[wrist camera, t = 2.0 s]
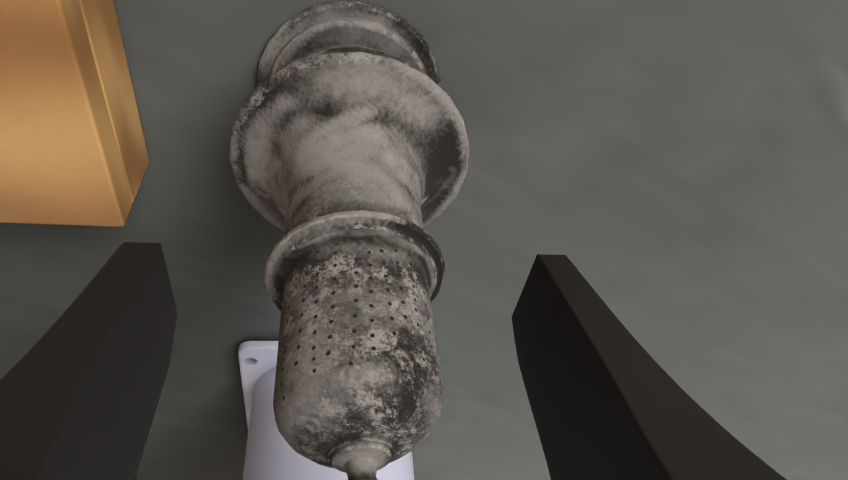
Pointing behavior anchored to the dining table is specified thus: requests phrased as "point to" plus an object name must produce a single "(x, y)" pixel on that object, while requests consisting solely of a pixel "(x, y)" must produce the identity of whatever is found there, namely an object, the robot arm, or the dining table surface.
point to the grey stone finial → (352, 227)
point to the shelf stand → (66, 115)
